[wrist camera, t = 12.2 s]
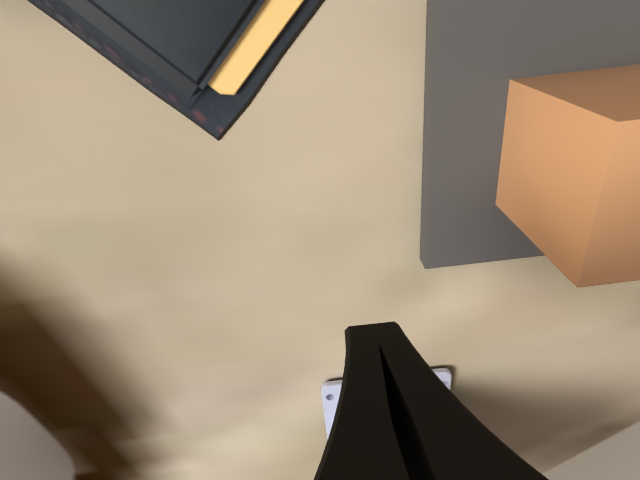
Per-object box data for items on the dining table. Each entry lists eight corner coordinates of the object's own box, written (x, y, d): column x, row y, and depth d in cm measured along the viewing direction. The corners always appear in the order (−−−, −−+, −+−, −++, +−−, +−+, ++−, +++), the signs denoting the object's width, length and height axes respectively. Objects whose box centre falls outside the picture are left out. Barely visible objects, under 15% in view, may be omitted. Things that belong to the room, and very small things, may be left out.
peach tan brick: (613, 190, 20) (740, 267, 15) (495, 204, 20) (577, 287, 15) (646, 63, 18) (819, 97, 12) (509, 79, 18) (616, 121, 12)
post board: (645, 232, 23) (750, 303, 18) (419, 258, 23) (459, 337, 18) (732, -36, 17) (928, -47, 12) (427, -4, 17) (490, -1, 12)
